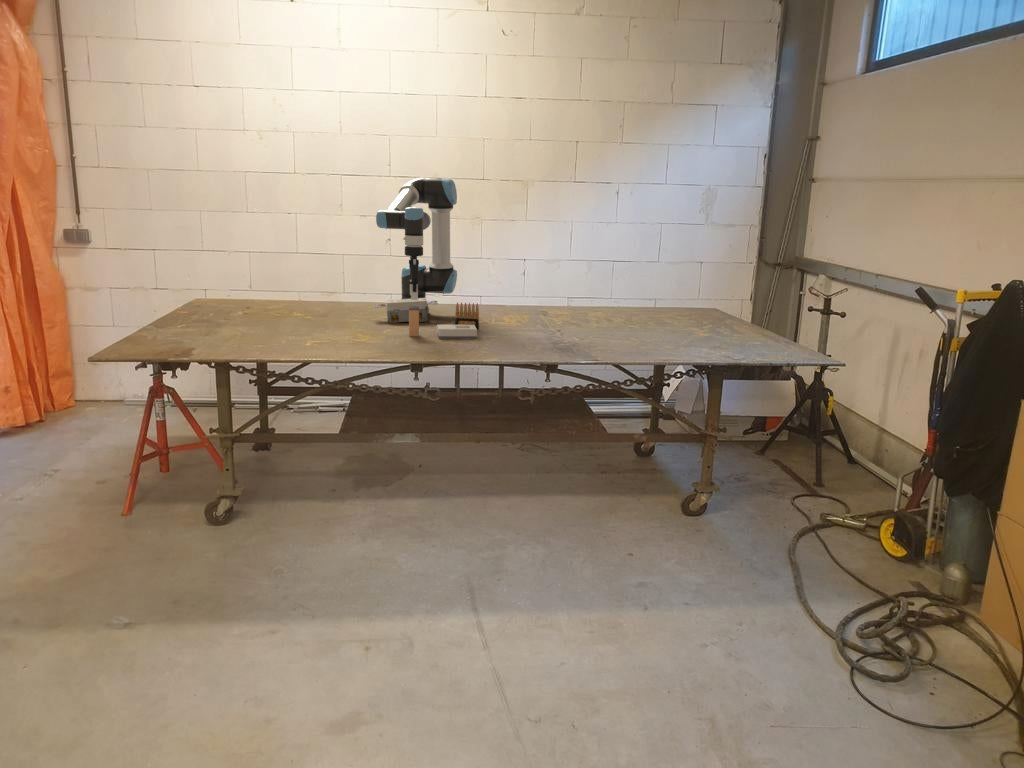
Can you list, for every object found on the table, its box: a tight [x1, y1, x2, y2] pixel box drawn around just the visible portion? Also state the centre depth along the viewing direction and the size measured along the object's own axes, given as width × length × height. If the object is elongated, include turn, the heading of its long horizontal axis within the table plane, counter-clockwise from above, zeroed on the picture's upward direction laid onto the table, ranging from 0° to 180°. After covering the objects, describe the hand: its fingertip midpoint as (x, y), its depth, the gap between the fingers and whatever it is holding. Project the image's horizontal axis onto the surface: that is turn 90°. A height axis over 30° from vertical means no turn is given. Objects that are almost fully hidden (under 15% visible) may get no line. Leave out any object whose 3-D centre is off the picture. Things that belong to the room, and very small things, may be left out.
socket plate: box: [436, 324, 478, 340], centre depth 318 cm, size 10×16×4 cm, turn 100°
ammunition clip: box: [454, 302, 480, 331], centre depth 332 cm, size 11×2×12 cm, turn 86°
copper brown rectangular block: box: [408, 306, 420, 337], centre depth 316 cm, size 4×4×12 cm
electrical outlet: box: [374, 297, 439, 324], centre depth 347 cm, size 12×28×10 cm, turn 98°
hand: (413, 297), depth 313 cm, fingers open, 13 cm apart
